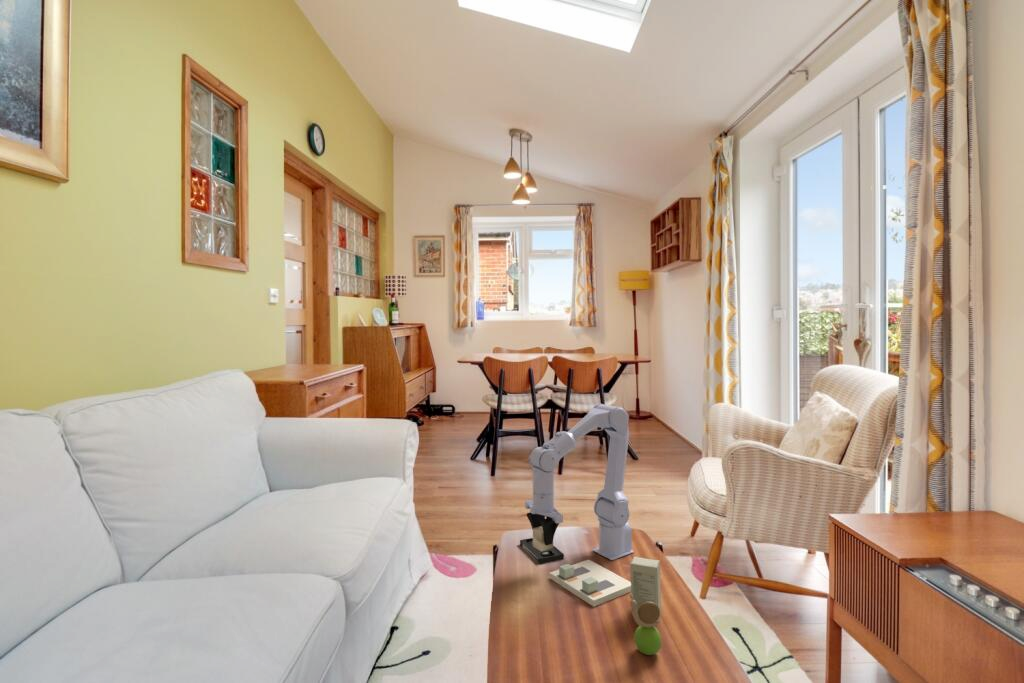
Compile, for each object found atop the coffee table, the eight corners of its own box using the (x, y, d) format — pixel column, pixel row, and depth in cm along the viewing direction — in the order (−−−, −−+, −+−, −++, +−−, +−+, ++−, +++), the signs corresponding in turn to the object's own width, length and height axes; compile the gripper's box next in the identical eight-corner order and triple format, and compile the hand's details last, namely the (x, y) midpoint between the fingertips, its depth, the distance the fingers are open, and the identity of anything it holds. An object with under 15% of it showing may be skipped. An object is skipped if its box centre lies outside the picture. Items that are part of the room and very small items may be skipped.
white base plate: (588, 564, 141) (588, 559, 141) (634, 590, 127) (634, 583, 127) (549, 578, 133) (549, 572, 133) (593, 606, 119) (593, 600, 119)
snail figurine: (625, 645, 104) (625, 588, 104) (655, 643, 105) (655, 586, 104) (634, 662, 99) (634, 601, 99) (665, 660, 99) (665, 600, 99)
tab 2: (591, 586, 125) (591, 576, 125) (597, 590, 123) (597, 580, 123) (582, 589, 124) (582, 580, 124) (588, 593, 122) (588, 584, 122)
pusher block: (544, 543, 139) (544, 525, 139) (553, 548, 136) (553, 529, 136) (532, 546, 137) (532, 528, 137) (541, 551, 134) (541, 533, 134)
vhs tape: (519, 546, 155) (519, 539, 155) (542, 542, 158) (542, 536, 158) (539, 565, 141) (539, 558, 141) (563, 561, 144) (563, 554, 144)
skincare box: (661, 612, 116) (661, 560, 116) (658, 621, 113) (658, 568, 112) (633, 606, 119) (633, 555, 119) (630, 615, 115) (630, 562, 115)
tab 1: (567, 572, 133) (567, 563, 133) (573, 575, 131) (573, 566, 131) (559, 575, 131) (559, 566, 131) (565, 578, 129) (565, 569, 129)
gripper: (516, 487, 140) (516, 535, 141) (548, 501, 128) (548, 554, 129) (536, 483, 144) (536, 530, 145) (569, 496, 132) (569, 547, 132)
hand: (543, 541), depth 137 cm, fingers closed on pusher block, 4 cm apart
